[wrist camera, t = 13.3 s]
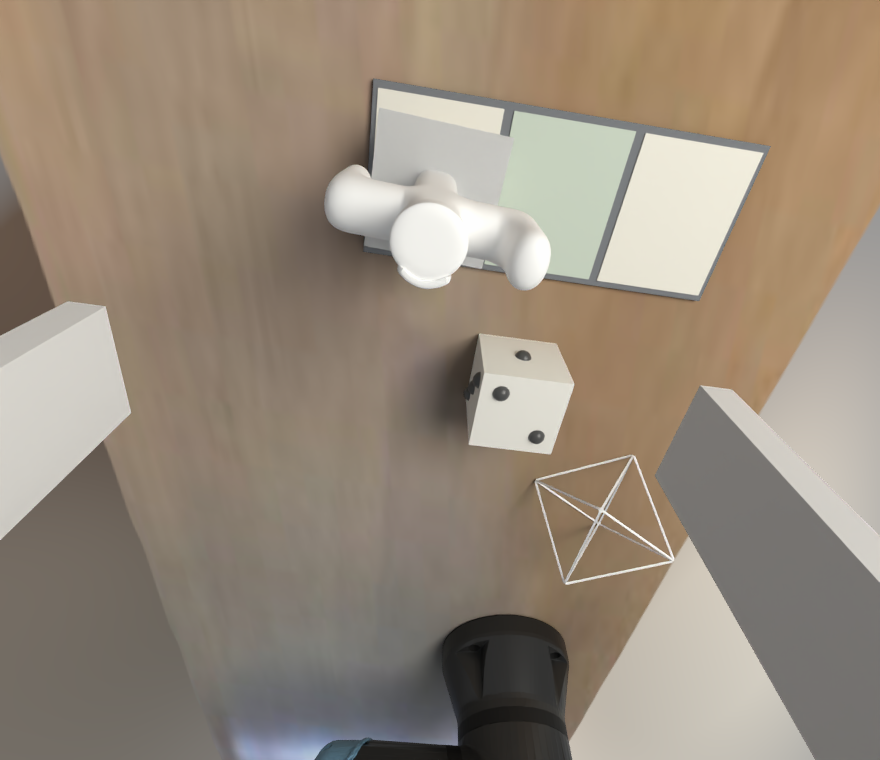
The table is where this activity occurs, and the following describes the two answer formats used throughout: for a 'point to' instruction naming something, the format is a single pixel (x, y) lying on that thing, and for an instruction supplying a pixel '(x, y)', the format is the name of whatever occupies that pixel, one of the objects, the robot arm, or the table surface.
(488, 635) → the robot arm
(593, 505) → the geometric polyhedron
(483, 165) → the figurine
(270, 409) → the table surface
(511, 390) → the die
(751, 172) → the game mat
